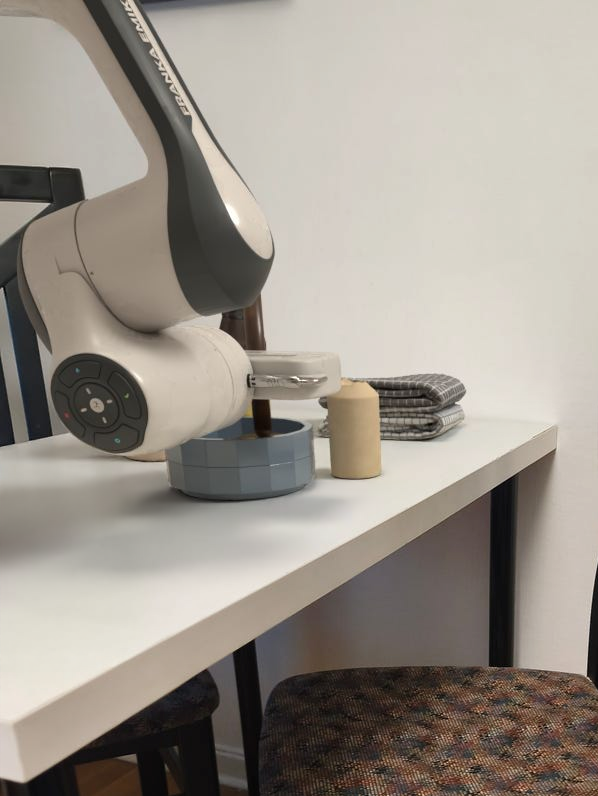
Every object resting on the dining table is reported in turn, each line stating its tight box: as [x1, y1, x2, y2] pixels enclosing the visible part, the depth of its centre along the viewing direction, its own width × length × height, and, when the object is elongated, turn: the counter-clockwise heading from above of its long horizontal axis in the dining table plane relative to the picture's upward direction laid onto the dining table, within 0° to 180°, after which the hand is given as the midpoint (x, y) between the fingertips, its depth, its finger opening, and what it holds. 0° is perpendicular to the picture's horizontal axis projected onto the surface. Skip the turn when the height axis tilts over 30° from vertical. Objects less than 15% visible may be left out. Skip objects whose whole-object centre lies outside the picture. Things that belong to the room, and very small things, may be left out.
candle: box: [327, 379, 382, 480], centre depth 96 cm, size 6×6×10 cm
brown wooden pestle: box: [235, 291, 282, 439], centre depth 88 cm, size 6×6×19 cm
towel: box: [317, 372, 467, 441], centre depth 123 cm, size 15×18×8 cm
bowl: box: [165, 416, 317, 501], centre depth 91 cm, size 15×15×6 cm
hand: (260, 364), depth 89 cm, fingers closed on brown wooden pestle
